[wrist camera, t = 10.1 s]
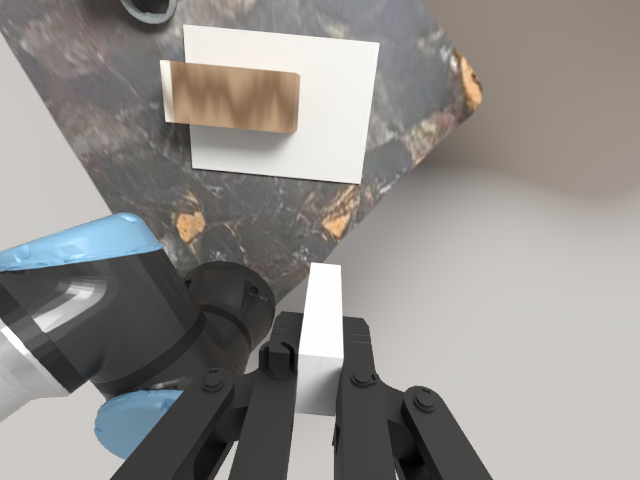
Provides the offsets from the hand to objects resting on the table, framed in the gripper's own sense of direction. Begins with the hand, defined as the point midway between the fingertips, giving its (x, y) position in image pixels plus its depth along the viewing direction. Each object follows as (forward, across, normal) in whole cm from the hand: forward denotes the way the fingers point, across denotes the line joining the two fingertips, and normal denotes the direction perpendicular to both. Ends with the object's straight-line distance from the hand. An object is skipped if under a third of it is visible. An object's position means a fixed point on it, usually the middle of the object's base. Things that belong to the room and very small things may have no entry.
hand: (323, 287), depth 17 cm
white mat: (+28, +7, -7) cm, 30 cm away
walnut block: (+26, +5, -8) cm, 27 cm away
